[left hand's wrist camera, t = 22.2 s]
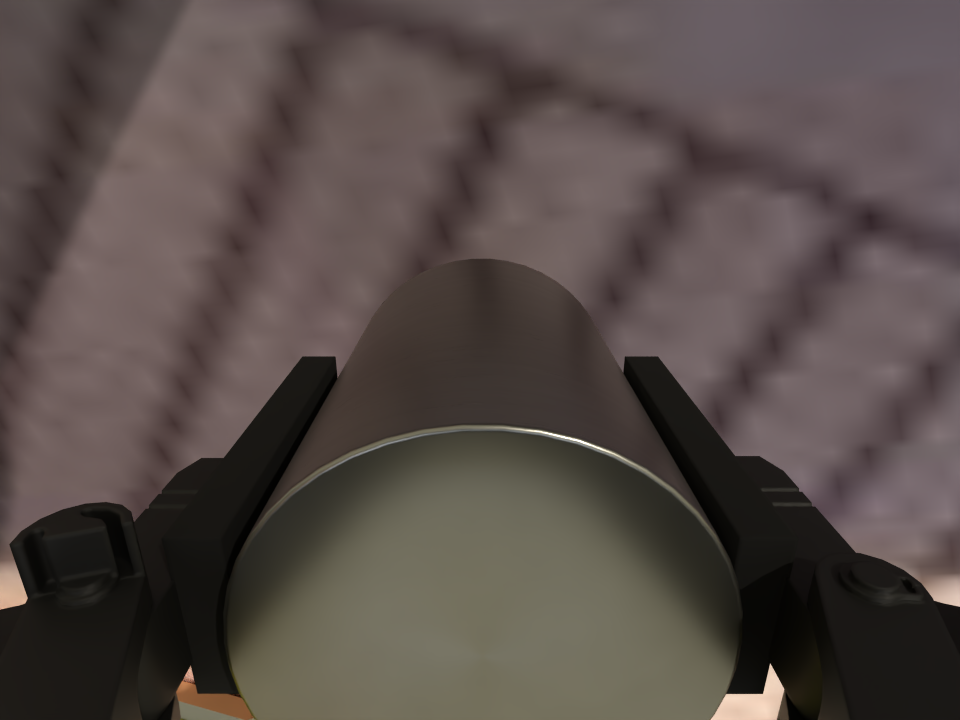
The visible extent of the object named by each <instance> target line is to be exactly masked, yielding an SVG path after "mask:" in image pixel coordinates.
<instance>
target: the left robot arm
mask: <svg viewBox="0 0 960 720" xmlns="http://www.w3.org/2000/svg"><path fill="white" fill-rule="evenodd" d="M623 374H624V375H625V377H626V379H627V381H628V382H629V384H630V386H631V387H632V389H633V391H634V393H635V394H636V396H637V398H638V399H639V401H640V403H641V405H642V406H643V408H644V410H645V411H646V413H647V415H648V417H649V418H650V420H651V422H652V423H653V425H654V427H655V429H656V430H657V432H658V434H659V436H660V437H661V439H662V441H663V442H664V444H665V446H666V448H667V449H668V451H669V453H670V454H671V456H672V458H673V460H674V461H675V463H676V465H677V466H678V468H679V470H680V472H681V473H682V475H683V477H684V478H685V480H686V482H687V484H688V485H689V487H690V489H691V490H692V492H693V494H694V496H695V497H696V499H697V501H698V502H699V504H700V506H701V508H702V509H703V511H704V513H705V514H706V516H707V518H708V520H709V521H710V523H711V525H712V526H713V528H714V530H715V532H716V533H717V535H718V537H719V539H720V541H721V543H722V545H723V547H724V548H725V550H726V552H727V554H728V556H729V558H730V560H731V563H732V566H733V569H734V572H735V575H736V578H737V582H738V585H739V590H740V597H741V604H742V611H743V619H742V643H741V648H740V653H739V658H738V663H737V668H736V670H735V673H734V675H733V678H732V681H731V683H730V686H729V689H728V691H727V693H726V694H763V691H764V687H765V683H766V678H767V674H768V670H769V665H770V663H771V665H772V667H773V669H774V671H775V673H776V674H777V676H778V678H779V680H780V682H781V684H782V685H783V687H784V693H783V697H782V701H781V705H780V709H779V713H778V717H777V720H960V607H958V606H953V605H948V604H944V603H940V602H936V601H934V600H933V598H932V597H931V595H930V594H929V593H928V591H927V590H926V589H925V588H924V586H923V585H922V584H921V583H920V582H919V581H918V580H916V579H915V578H914V577H912V576H911V575H910V574H908V573H907V572H906V571H904V570H903V569H900V568H898V567H896V566H894V565H892V564H890V563H888V562H886V561H884V560H882V559H878V558H875V557H871V556H868V555H865V554H861V553H856V552H855V551H854V550H853V549H852V548H851V547H850V546H849V544H848V543H847V542H846V541H845V540H844V539H843V538H842V537H841V535H840V534H839V533H838V532H837V531H836V530H835V529H834V528H833V526H832V525H831V524H830V523H829V522H828V521H827V520H826V518H825V517H824V516H823V515H822V514H821V513H820V512H819V511H818V509H817V508H816V507H812V503H811V502H810V500H809V499H808V498H807V497H806V496H805V495H804V494H803V492H799V488H798V487H797V486H796V485H795V483H794V482H793V481H792V480H791V479H790V478H789V477H788V476H787V474H786V473H785V472H784V471H783V470H781V469H779V468H778V467H776V466H774V465H773V464H771V463H770V462H768V461H766V460H765V459H763V458H761V457H760V456H735V455H734V454H733V453H732V451H731V450H730V449H729V448H728V446H727V445H726V444H725V442H724V441H723V440H722V439H721V437H720V436H719V435H718V433H717V432H716V431H715V430H714V428H713V427H712V426H711V424H710V423H709V422H708V421H707V419H706V418H705V417H704V415H703V414H702V413H701V412H700V410H699V409H698V408H697V406H696V405H695V404H694V402H693V401H692V400H691V399H690V397H689V396H688V395H687V393H686V392H685V391H684V390H683V388H682V387H681V386H680V384H679V383H678V382H677V381H676V379H675V378H674V377H673V375H672V374H671V373H670V372H669V370H668V369H667V368H666V366H665V365H664V364H663V363H662V361H661V360H660V359H659V357H625V362H624V373H623ZM336 381H337V368H336V357H302V358H301V359H300V361H299V362H298V363H297V364H296V366H295V367H294V368H293V370H292V371H291V372H290V373H289V375H288V376H287V377H286V379H285V380H284V381H283V382H282V384H281V385H280V386H279V388H278V389H277V390H276V391H275V393H274V394H273V395H272V397H271V398H270V399H269V400H268V402H267V403H266V404H265V406H264V407H263V408H262V409H261V411H260V412H259V413H258V415H257V416H256V417H255V418H254V420H253V421H252V422H251V424H250V425H249V426H248V427H247V429H246V430H245V431H244V433H243V434H242V435H241V437H240V438H239V439H238V440H237V442H236V443H235V444H234V446H233V447H232V448H231V449H230V451H229V452H228V453H227V455H226V456H225V457H224V458H201V459H199V460H198V461H196V462H194V463H193V464H191V465H190V466H188V467H186V468H185V469H183V470H181V471H180V472H178V473H177V474H176V475H175V476H174V477H173V479H172V480H171V481H170V482H169V483H168V484H167V485H166V486H165V488H164V489H163V490H162V494H158V496H157V497H156V498H155V499H154V500H153V501H152V502H151V504H150V505H149V509H145V510H144V512H143V513H142V514H141V515H140V516H139V517H138V518H137V520H136V521H135V522H134V521H133V517H132V513H131V511H129V510H128V509H127V508H125V507H124V506H123V505H120V504H114V503H108V502H102V503H89V504H83V505H79V506H75V507H71V508H67V509H63V510H60V511H58V512H56V513H53V514H51V515H49V516H46V517H44V518H42V519H40V520H38V521H36V522H35V523H33V524H32V525H30V526H29V527H27V528H26V529H24V530H23V531H21V532H20V533H19V534H18V536H17V537H16V538H15V539H14V540H13V541H12V542H11V543H10V544H9V545H10V548H11V551H12V554H13V556H14V559H15V562H16V565H17V568H18V571H19V574H20V577H21V580H22V583H23V585H24V588H25V591H26V594H27V597H28V599H27V601H26V603H25V604H23V605H20V606H15V607H11V608H6V609H1V610H0V720H181V714H180V707H179V701H178V697H177V693H176V691H177V689H178V688H179V686H180V684H181V682H182V680H183V678H184V676H185V675H186V673H187V671H188V669H189V667H190V665H191V668H192V672H193V677H194V681H195V685H196V689H197V694H239V692H238V689H237V687H236V684H235V681H234V679H233V676H232V674H231V671H230V668H229V664H228V659H227V654H226V649H225V644H224V621H223V612H224V605H225V597H226V590H227V585H228V582H229V579H230V576H231V573H232V570H233V567H234V564H235V561H236V558H237V557H238V555H239V553H240V551H241V549H242V547H243V545H244V543H245V541H246V539H247V538H248V536H249V534H250V532H251V530H252V528H253V527H254V525H255V523H256V521H257V520H258V518H259V516H260V514H261V513H262V511H263V509H264V507H265V506H266V504H267V502H268V500H269V499H270V497H271V495H272V493H273V491H274V490H275V488H276V486H277V484H278V483H279V481H280V479H281V477H282V476H283V474H284V472H285V470H286V469H287V467H288V465H289V463H290V462H291V460H292V458H293V456H294V455H295V453H296V451H297V449H298V447H299V446H300V444H301V442H302V440H303V439H304V437H305V435H306V433H307V432H308V430H309V428H310V426H311V425H312V423H313V421H314V419H315V418H316V416H317V414H318V412H319V410H320V409H321V407H322V405H323V403H324V402H325V400H326V398H327V396H328V395H329V393H330V391H331V389H332V388H333V386H334V384H335V382H336Z"/></svg>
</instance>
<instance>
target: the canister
mask: <svg viewBox="0 0 960 720" xmlns="http://www.w3.org/2000/svg"><path fill="white" fill-rule="evenodd" d="M742 619H743V611H742V604H741V597H740V590H739V585H738V582H737V578H736V575H735V572H734V569H733V566H732V563H731V560H730V558H729V556H728V554H727V552H726V550H725V548H724V547H723V545H722V543H721V541H720V539H719V537H718V535H717V533H716V532H715V530H714V528H713V526H712V525H711V523H710V521H709V520H708V518H707V516H706V514H705V513H704V511H703V509H702V508H701V506H700V504H699V502H698V501H697V499H696V497H695V496H694V494H693V492H692V490H691V489H690V487H689V485H688V484H687V482H686V480H685V478H684V477H683V475H682V473H681V472H680V470H679V468H678V466H677V465H676V463H675V461H674V460H673V458H672V456H671V454H670V453H669V451H668V449H667V448H666V446H665V444H664V442H663V441H662V439H661V437H660V436H659V434H658V432H657V430H656V429H655V427H654V425H653V423H652V422H651V420H650V418H649V417H648V415H647V413H646V411H645V410H644V408H643V406H642V405H641V403H640V401H639V399H638V398H637V396H636V394H635V393H634V391H633V389H632V387H631V386H630V384H629V382H628V381H627V379H626V377H625V375H624V374H623V372H622V370H621V369H620V367H619V365H618V363H617V362H616V360H615V358H614V357H613V355H612V353H611V351H610V350H609V348H608V346H607V345H606V343H605V341H604V339H603V338H602V336H601V334H600V333H599V331H598V329H597V327H596V326H595V324H594V322H593V321H592V319H591V317H590V316H589V314H588V313H587V311H586V310H585V309H584V307H583V306H582V305H581V303H580V302H579V301H578V300H577V299H576V298H575V297H574V296H573V295H572V294H571V293H570V292H569V291H568V290H567V289H565V288H564V287H563V286H561V285H560V284H559V283H558V282H556V281H555V280H553V279H551V278H550V277H548V276H546V275H544V274H543V273H541V272H539V271H536V270H534V269H531V268H529V267H527V266H524V265H520V264H516V263H513V262H509V261H502V260H495V259H468V260H461V261H454V262H450V263H447V264H443V265H439V266H436V267H434V268H432V269H429V270H427V271H424V272H422V273H420V274H419V275H417V276H415V277H413V278H412V279H410V280H408V281H407V282H405V283H404V284H403V285H402V286H400V287H399V288H398V289H397V290H395V291H394V292H393V293H392V294H391V295H390V296H389V297H388V298H387V299H386V300H385V301H384V302H383V303H382V305H381V306H380V307H379V309H378V310H377V311H376V313H375V314H374V316H373V317H372V319H371V321H370V322H369V324H368V326H367V328H366V329H365V331H364V333H363V335H362V336H361V338H360V340H359V342H358V344H357V345H356V347H355V349H354V351H353V352H352V354H351V356H350V358H349V359H348V361H347V363H346V365H345V366H344V368H343V370H342V372H341V373H340V375H339V377H338V379H337V381H336V382H335V384H334V386H333V388H332V389H331V391H330V393H329V395H328V396H327V398H326V400H325V402H324V403H323V405H322V407H321V409H320V410H319V412H318V414H317V416H316V418H315V419H314V421H313V423H312V425H311V426H310V428H309V430H308V432H307V433H306V435H305V437H304V439H303V440H302V442H301V444H300V446H299V447H298V449H297V451H296V453H295V455H294V456H293V458H292V460H291V462H290V463H289V465H288V467H287V469H286V470H285V472H284V474H283V476H282V477H281V479H280V481H279V483H278V484H277V486H276V488H275V490H274V491H273V493H272V495H271V497H270V499H269V500H268V502H267V504H266V506H265V507H264V509H263V511H262V513H261V514H260V516H259V518H258V520H257V521H256V523H255V525H254V527H253V528H252V530H251V532H250V534H249V536H248V538H247V539H246V541H245V543H244V545H243V547H242V549H241V551H240V553H239V555H238V557H237V558H236V561H235V564H234V567H233V570H232V573H231V576H230V579H229V582H228V585H227V590H226V597H225V605H224V612H223V621H224V644H225V649H226V654H227V659H228V664H229V668H230V671H231V674H232V676H233V679H234V681H235V684H236V687H237V689H238V692H239V694H240V696H241V697H242V699H243V701H244V703H245V704H246V706H247V708H248V710H249V711H250V713H251V715H252V716H253V717H254V719H255V720H710V719H711V718H712V717H713V716H714V714H715V713H716V711H717V709H718V707H719V705H720V704H721V702H722V700H723V698H724V697H725V695H726V693H727V691H728V689H729V686H730V683H731V681H732V678H733V675H734V673H735V670H736V668H737V663H738V658H739V653H740V648H741V643H742Z"/></svg>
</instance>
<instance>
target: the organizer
mask: <svg viewBox="0 0 960 720" xmlns="http://www.w3.org/2000/svg"><path fill="white" fill-rule="evenodd" d="M176 693H177V697H178V701H179V707H180V714H181V720H255V719H254V717H253V716H252V715H251V713H250V711H249V710H248V708H247V706H246V704H245V703H244V701H243V699H242V698H240V697H236V696H233V695H229V694H197V689H196V685H195V684H191V683H188V682H184V681H182V682H181V684H180V686H179V688H178V689H177V691H176Z"/></svg>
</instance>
